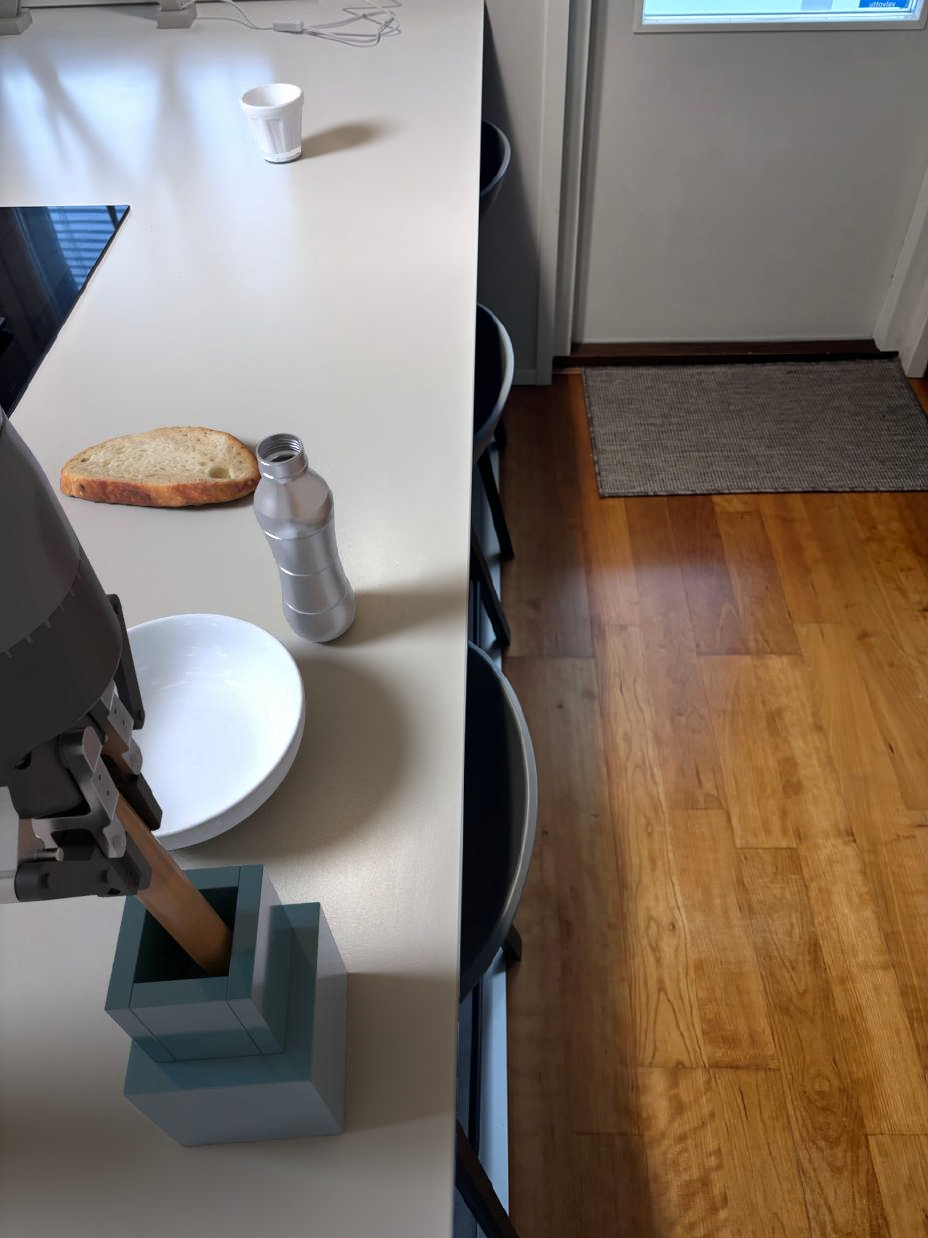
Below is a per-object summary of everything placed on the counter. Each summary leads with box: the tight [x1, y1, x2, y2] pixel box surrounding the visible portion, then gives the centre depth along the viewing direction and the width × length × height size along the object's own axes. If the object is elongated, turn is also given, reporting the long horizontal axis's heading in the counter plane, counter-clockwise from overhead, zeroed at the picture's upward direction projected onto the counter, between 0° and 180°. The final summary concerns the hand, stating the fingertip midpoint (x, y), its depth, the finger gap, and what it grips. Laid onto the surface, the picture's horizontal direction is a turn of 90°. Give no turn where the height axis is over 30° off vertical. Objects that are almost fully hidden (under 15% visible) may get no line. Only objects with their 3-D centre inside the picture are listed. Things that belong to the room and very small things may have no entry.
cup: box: [238, 82, 305, 165], centre depth 151 cm, size 10×10×9 cm
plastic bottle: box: [252, 432, 357, 643], centre depth 78 cm, size 6×7×20 cm
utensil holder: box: [103, 863, 349, 1147], centre depth 54 cm, size 10×10×19 cm
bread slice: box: [59, 425, 262, 508], centre depth 99 cm, size 18×18×4 cm
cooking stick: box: [115, 789, 233, 977], centre depth 42 cm, size 2×2×20 cm
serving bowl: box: [114, 612, 306, 851], centre depth 74 cm, size 21×21×7 cm
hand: (133, 853), depth 41 cm, fingers closed on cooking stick, 2 cm apart
